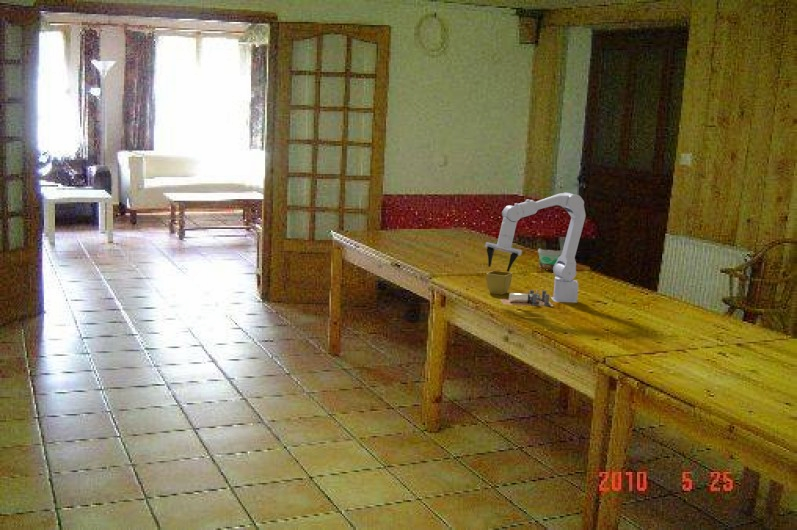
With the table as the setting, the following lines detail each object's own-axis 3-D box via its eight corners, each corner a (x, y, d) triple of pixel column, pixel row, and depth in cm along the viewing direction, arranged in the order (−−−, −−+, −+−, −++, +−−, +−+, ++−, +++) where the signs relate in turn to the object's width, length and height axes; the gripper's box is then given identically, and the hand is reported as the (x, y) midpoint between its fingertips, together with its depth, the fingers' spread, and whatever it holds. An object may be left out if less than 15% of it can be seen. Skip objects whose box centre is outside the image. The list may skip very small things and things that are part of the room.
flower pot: (484, 294, 344) (485, 273, 342) (492, 290, 351) (493, 270, 350) (504, 297, 340) (505, 275, 338) (511, 293, 347) (513, 272, 346)
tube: (537, 300, 332) (539, 292, 330) (539, 304, 328) (540, 296, 327) (508, 299, 331) (509, 291, 330) (509, 303, 328) (510, 295, 326)
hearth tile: (548, 301, 335) (548, 300, 335) (553, 307, 325) (553, 306, 325) (499, 299, 335) (499, 298, 335) (503, 305, 325) (503, 304, 325)
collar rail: (545, 300, 335) (546, 289, 334) (550, 306, 325) (551, 295, 324) (527, 299, 335) (528, 289, 334) (531, 305, 325) (532, 294, 324)
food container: (534, 269, 402) (536, 249, 400) (536, 267, 408) (538, 247, 406) (560, 272, 399) (562, 251, 397) (561, 270, 405) (563, 249, 403)
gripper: (487, 231, 324) (479, 265, 326) (523, 240, 321) (515, 274, 323) (489, 231, 331) (482, 263, 333) (525, 239, 327) (517, 272, 329)
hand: (498, 268), depth 328 cm, fingers open, 7 cm apart
